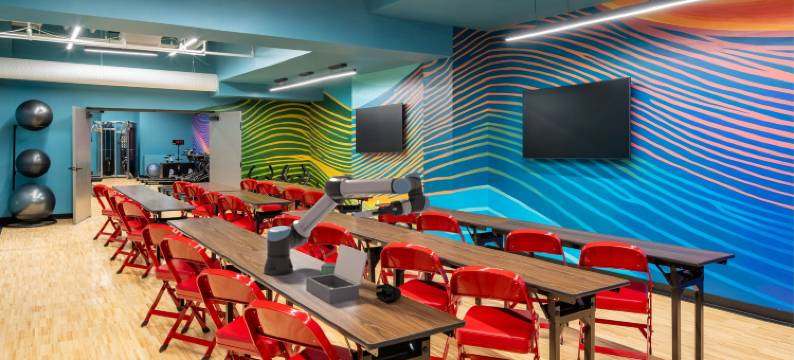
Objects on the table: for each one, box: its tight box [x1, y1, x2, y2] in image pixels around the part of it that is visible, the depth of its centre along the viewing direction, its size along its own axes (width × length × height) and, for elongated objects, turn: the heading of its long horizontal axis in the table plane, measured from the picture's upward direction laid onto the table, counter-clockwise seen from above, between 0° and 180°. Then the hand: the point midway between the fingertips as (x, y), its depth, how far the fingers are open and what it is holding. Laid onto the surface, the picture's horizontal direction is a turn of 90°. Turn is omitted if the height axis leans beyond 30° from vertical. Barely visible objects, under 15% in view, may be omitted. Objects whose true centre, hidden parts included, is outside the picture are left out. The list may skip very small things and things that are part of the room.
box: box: [320, 262, 347, 280], centre depth 251 cm, size 7×14×8 cm, turn 78°
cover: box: [334, 243, 368, 286], centre depth 228 cm, size 24×14×1 cm
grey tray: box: [305, 274, 360, 305], centre depth 223 cm, size 24×14×6 cm, turn 34°
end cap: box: [375, 282, 402, 305], centre depth 216 cm, size 10×7×7 cm
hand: (359, 215), depth 233 cm, fingers open, 13 cm apart
